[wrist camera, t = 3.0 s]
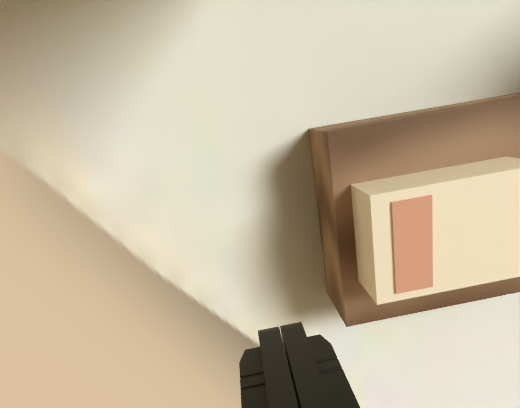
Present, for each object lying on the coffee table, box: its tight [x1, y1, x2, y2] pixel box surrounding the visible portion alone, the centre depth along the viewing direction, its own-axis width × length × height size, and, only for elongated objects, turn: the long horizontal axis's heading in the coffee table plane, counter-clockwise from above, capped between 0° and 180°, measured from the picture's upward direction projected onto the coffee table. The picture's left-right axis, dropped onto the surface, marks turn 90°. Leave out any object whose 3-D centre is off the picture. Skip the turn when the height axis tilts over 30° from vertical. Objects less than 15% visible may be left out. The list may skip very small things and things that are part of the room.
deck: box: [309, 93, 520, 327], centre depth 21 cm, size 12×17×4 cm
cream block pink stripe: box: [351, 157, 520, 305], centre depth 17 cm, size 6×9×3 cm, turn 99°
